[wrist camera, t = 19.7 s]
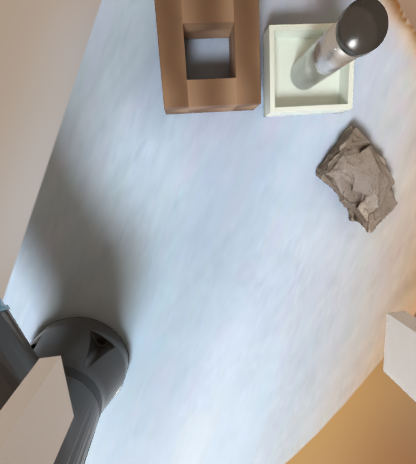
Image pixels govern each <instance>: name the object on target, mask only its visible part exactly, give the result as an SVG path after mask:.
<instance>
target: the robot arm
mask: <svg viewBox="0 0 416 464" xmlns="http://www.w3.org/2000/svg"><path fill="white" fill-rule="evenodd" d="M9 309H10V308H9V306H8V305H5V304H4V303H3V301H2V300H1V299H0V464H84V463H85V460H86V457H87V454H88V451H89V448H90V445H91V442H92V439H93V436H94V433H95V429H96V426H97V423H98V420H99V417H100V414H101V413H102V411H103V410H104V409H105V408H106V406H107V405H108V404H109V402H110V401H111V400H112V399H113V397H114V396H115V395H116V394H117V393H118V392H119V390H120V388H121V387H122V385H123V382H124V379H125V376H126V373H127V369H128V353H127V349H126V346H125V344H124V342H123V341H122V339H121V338H120V336H119V335H118V334H117V333H116V332H115V331H114V330H112V329H111V328H110V327H108V326H107V325H105V324H103V323H101V322H99V321H96V320H93V319H88V318H79V317H76V318H67V319H62V320H59V321H57V322H54V323H52V324H50V325H49V326H47V327H46V328H45V329H43V330H42V331H41V332H40V333H39V334H38V336H37V337H36V338H35V339H34V340H33V341H32V342H31V344H29V342H28V341H27V339H26V337H25V336H24V334H23V333H22V331H21V329H20V328H19V326H18V324H17V323H16V321H15V319H14V318H13V316H12V314H11V313H10V311H9ZM383 371H384V372H385V373H386V374H387V375H389V376H390V378H392V379H393V380H394V381H395V382H396V383H397V384H398V385H399V386H400V387H401V388H402V389H403V390H404V391H405V392H406V393H407V394H408V395H409V396H410V397H411V398H412V399H413V400H414V401H415V402H416V318H415V317H413V316H412V315H410V314H408V313H407V312H405V311H399V312H391V313H387V319H386V335H385V352H384V369H383Z"/></svg>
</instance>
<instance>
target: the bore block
mask: <svg viewBox="0 0 416 464" xmlns="http://www.w3.org/2000/svg"><path fill="white" fill-rule="evenodd" d="M155 11H156V22H157V33H158V45H159V56H160V67H161V78H162V89H163V100H164V109H165V112H166V114H182V113H202V112H222V111H242V110H254V109H255V108H256V107H257V106H258V105H259V104H260V103H261V84H260V33H259V0H155ZM202 38H229V54H230V78H221V79H197V80H187V75H186V61H185V47H184V39H202Z"/></svg>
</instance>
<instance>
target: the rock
mask: <svg viewBox="0 0 416 464" xmlns="http://www.w3.org/2000/svg"><path fill="white" fill-rule="evenodd" d="M316 176H318V177H319V178H320V179H321V180H322V181H323V182H325V183H326V184H327V185H329V186H330V187H331V188H333V190H334V192H336V193H337V194H338V196H339V201H340V202H341V203H342V204H343V205H344V207H347V210H348V212H349V220H350V221H357V222H359V223H360V224H361V225H362V226H363V227H364V228H365V229H366V231H367V233H371V232H373V230H374V229H375V228H376V226H377V225H378V224H379V223H380V222H381V221H382V220H383V219H384V218H385V217H386V216H387V215H388V214H389V213H390V212H391V211H393V209H394V208H395V207H396V205H397V201H396V199H395V197H394V195H393V192H392V190H391V187H392V186H393V185H394V179H393V177H392V175H391V174H390V172H389V170H388V168H387V167H386V160H385V159H384V158H383V157H381V156H380V155H378V154H377V153H376V152H375V151H374V148H373V146H372V145H371V143H370V142H369V140H368V139H367V138H366V137H365V136H364V135H363V134H362V133H361V132H360V131H359V130H358V128H356V127H354V126H350V127H348V128H346V129H345V131H344V132H343V134H342V136H341V137H340V138H339V140H338V142H337V143H336V145H335V146H334V148H333V149H332V150H331V152H330V153H329V154H328V155H327V157H326V159H325V160H324V161H323V162H322V163H321V165H320V166H319V167H318V168H317V172H316Z"/></svg>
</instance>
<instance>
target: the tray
mask: <svg viewBox="0 0 416 464" xmlns="http://www.w3.org/2000/svg"><path fill="white" fill-rule="evenodd" d="M334 24H335V23H321V24H287V25H269V26H268V28H267V30H266V31H265V33H264V35H263V90H264V117H275V116H294V115H314V114H333V113H342V112H344V111H347V110H350V109H352V100H353V78H354V60H353V61H352V62H350V63H349V64H347V65H346V66H344V67H343V68H341V69H340V70H338V71H336V72H335V73H333V74H332V75H330V76H329V77H327V78H326V79H324V80H323V81H321V82H320V83H318V84H317V85H315V86H314V87H312V88H310V89H308V90H300V89H298V88H296V87H295V86H294V85H293V83H292V81H291V77H290V72H291V68H292V66H293V64H294V63H295V62H296V61H297V60H298V59H299V58H300V57H301V56H302V55H303V54H304V53H305V52H306V51H307V50H308V49H309V48H310V47H311V46H312V45H313V44H314V43H315V42H316V41H317V40H318V39H319V38H320V37H321V36H322V35H323V34H324V33H325V32H327V31H328V30H329V29H330V28H331V27H332V26H333V25H334Z"/></svg>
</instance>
